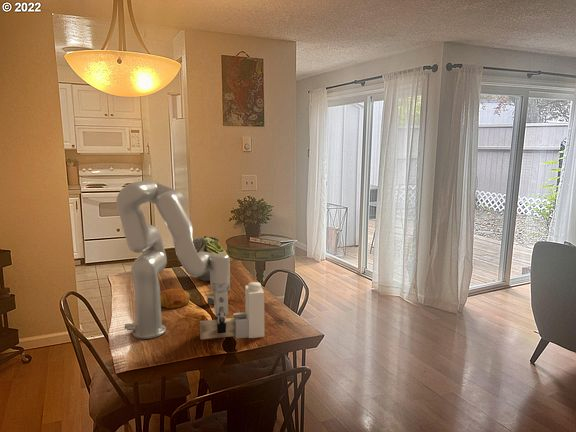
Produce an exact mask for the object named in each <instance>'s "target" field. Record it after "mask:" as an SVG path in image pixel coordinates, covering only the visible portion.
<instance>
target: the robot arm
mask: <svg viewBox="0 0 576 432" xmlns="http://www.w3.org/2000/svg"><path fill="white" fill-rule="evenodd" d="M146 203H151V204H154V205H155V206H156V208H157V210H158V213H159V214H160V216H161V219H163V221H164V223H165V225H166V227H167V228H168V231H169V232H170V234H171V237H172V241H173V242H172V243H173V245H174V249H175V250H174V251H175V254H176V256H177V258H178V261H179V262H180V264H181V266H182V268H183V269H184V271H185V272H186V273H187V274H188V275H189V276H191V277H193V278H199V276H201V275H203V274H204V273H205V272H206V271H208V270H210V282H209V283H210V284H209V286H210V288H209V289H210V291H212V292H214V304H213V306H214V307H213V308H214V312H215V313H214V314H215V320H217V319H218V323H217V333H218V334H219V333H226V322H225V319H226V317H229V314H230V313H229V296H228V294H229V291H230V290H231V262H230V261H231V258H230V256H229V255H228V253H227V254H223V253H218V254H214V253H209V252H198V253H197V251H196V249H195V247H194V244H193V232H194V227H193V226H194V224H193V223H192V221H191V220H190V218H189V217H188V215H187V212H186V211H185V208H184V206H185V204H186V199H185V196H184V195H183V193H181V191H179V190H177V189H174V188H172V187H169V186H166V185H163V184H161V183H159V182H155V181H153V180H147V179H146V180H141V181H134V182H131V183H129V184H127V185H124V186H123V188H122V189H121V190H120V191H119V192H118V194H117V197H116V209H117V212H118V215H119V218H120V221H121V225H122V230H123V233H124V236H125V240H126V243H127V246H128V248H129V250H130V251H131V252H133V253H137V254H139V253H142V255H140V256H139V257H137V258H135V259H134V261H133V263H132V264H131V266H130V267H131V268H130V269H131V270H130V271H131V277H132V281H133V291H134V302H135V303H134V304H135V321H133V322H132V323H130V322H129V323H124V329H125V330H126V331H132V336H133V337H134V338H137V339H139V340H141V339H142V340H146V339H147V340H148V339H154V338H157V337H160V336H162V335H164V334H165V332H166V331H167V327H166V325H164V324H162V306H161V299H160V293H161V287H160V282H159V277H158V274H159V273H161V272H162V271H163V270H164V269H165V268H166V266H167V264H168V260H167V259H168V257H167V253H166V249H165V245H164V243H163V240H162V236H161V232H160V231H159V230H158V228H157V227H155V226H154V225H152V224H147V221H146V217H145V215H144V212H143V211H142V209H141V207H140V206H141V205H142V204H146Z"/></svg>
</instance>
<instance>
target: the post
mask: <svg viewBox="0 0 576 432" xmlns="http://www.w3.org/2000/svg"><path fill="white" fill-rule="evenodd" d="M244 289H245V291H244V292H245V299H244V302H245V309H244V310H245V312H235V313H234V312H233V318H241V317H246V319H239V320H235V330H236V336H235V339H245V338H249V339H255V338H256V339H257V338H264V337H265V292H264V289H263V287H262V284H261V282H257V281H253V282H252V281H251V282H249V283H248V284H247V285H244Z"/></svg>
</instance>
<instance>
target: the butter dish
mask: <svg viewBox="0 0 576 432" xmlns="http://www.w3.org/2000/svg"><path fill="white" fill-rule="evenodd" d="M204 297H206V298H207V305H214V292H212V291H211V290H210V292H209V293H205V294H204Z"/></svg>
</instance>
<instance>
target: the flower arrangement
mask: <svg viewBox="0 0 576 432" xmlns="http://www.w3.org/2000/svg"><path fill="white" fill-rule="evenodd" d="M192 239H193V244H194V247H195V249H196V251H197V253H198V252H209V253H214V254H218V253H223V254H227V255H228V253H227V251H226V250H225V248H223V246H222V245H221V244H220V242H219V238H216V237H213V236H205V235H204V236H197V237H194V238H193V237H192ZM198 279H199V280H200V281H205V282H208V281H210V270H208V271H206V272H205V273H204V274H203V275H201V276H199V277H198Z"/></svg>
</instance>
